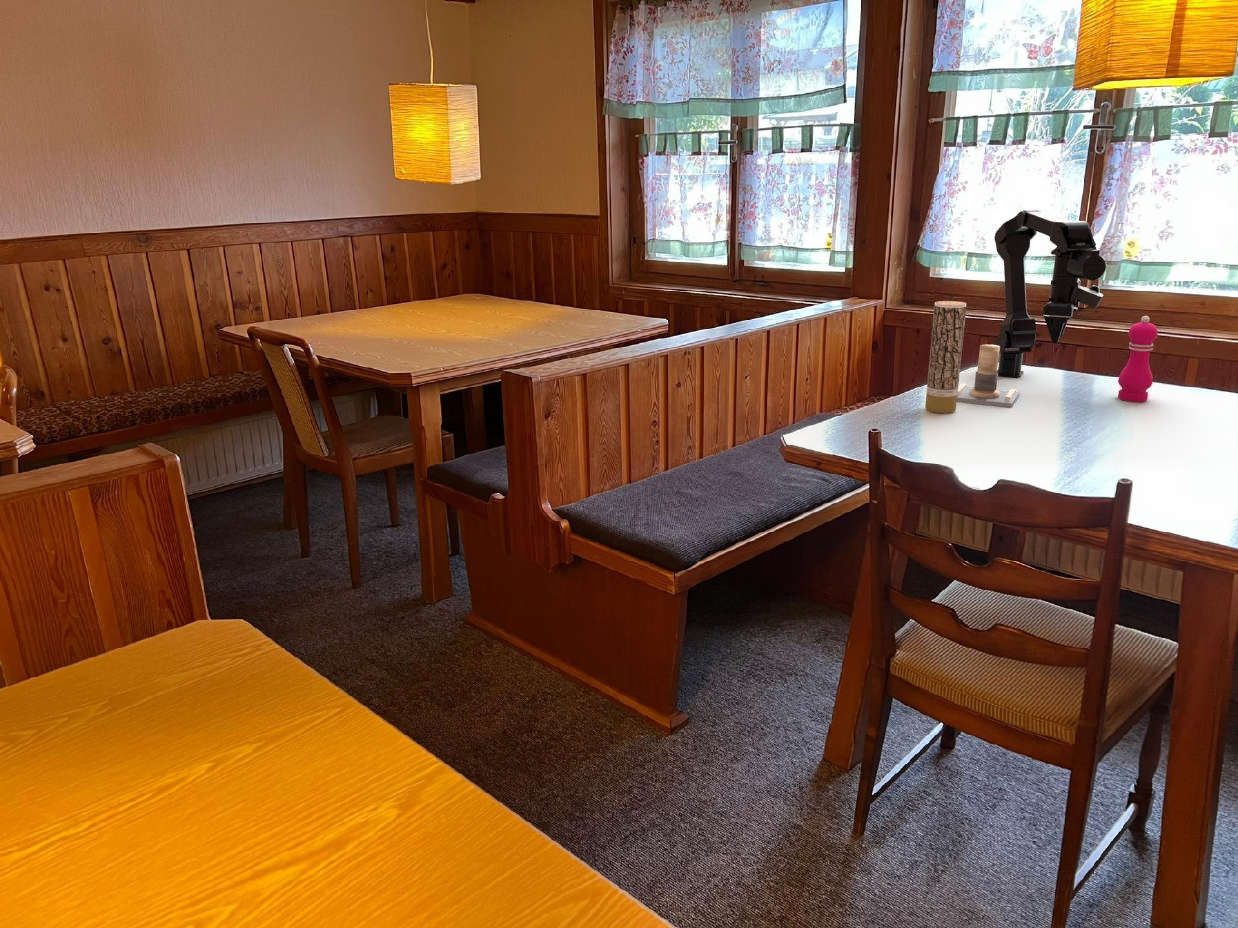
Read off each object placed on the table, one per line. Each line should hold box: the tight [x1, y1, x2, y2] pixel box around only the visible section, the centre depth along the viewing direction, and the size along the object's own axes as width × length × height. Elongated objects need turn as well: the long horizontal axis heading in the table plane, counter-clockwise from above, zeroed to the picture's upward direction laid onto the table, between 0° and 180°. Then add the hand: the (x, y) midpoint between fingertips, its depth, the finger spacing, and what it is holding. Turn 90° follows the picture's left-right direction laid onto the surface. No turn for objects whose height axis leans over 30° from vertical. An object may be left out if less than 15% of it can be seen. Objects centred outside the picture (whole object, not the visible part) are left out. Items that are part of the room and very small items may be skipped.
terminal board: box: [957, 383, 1021, 408], centre depth 221 cm, size 12×14×2 cm
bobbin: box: [970, 344, 1000, 398], centre depth 219 cm, size 7×7×12 cm
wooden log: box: [925, 300, 967, 414], centre depth 208 cm, size 7×7×25 cm
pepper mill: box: [1117, 315, 1159, 403], centre depth 215 cm, size 7×7×20 cm
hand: (1057, 340), depth 222 cm, fingers open, 9 cm apart
